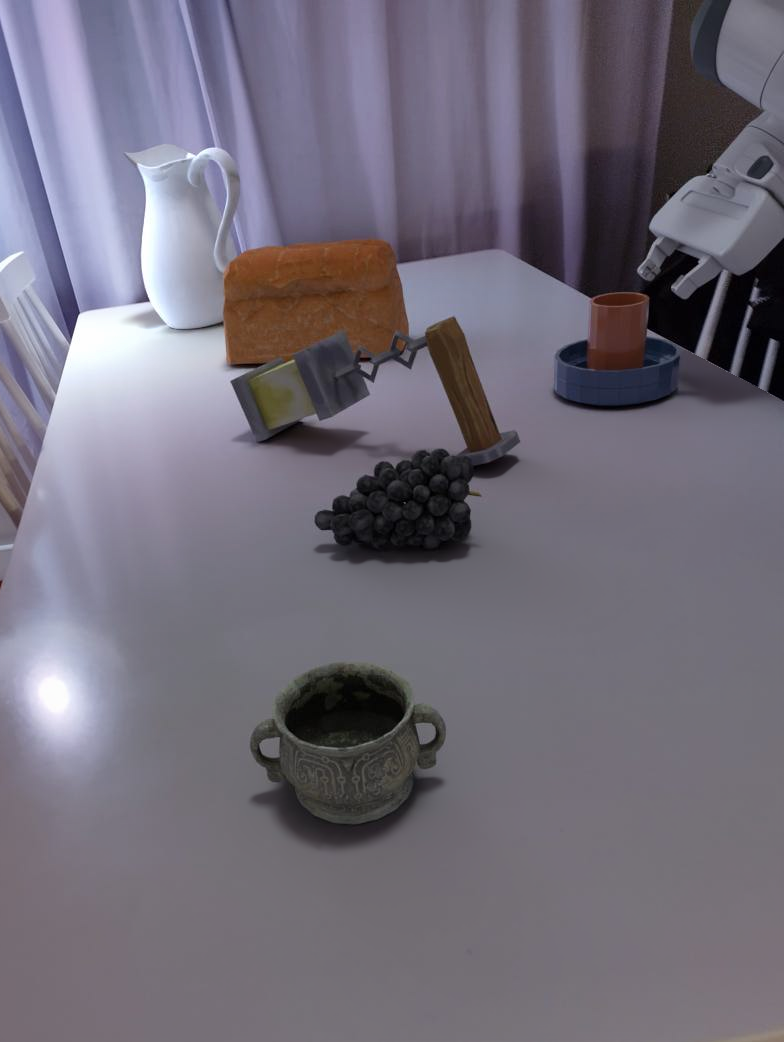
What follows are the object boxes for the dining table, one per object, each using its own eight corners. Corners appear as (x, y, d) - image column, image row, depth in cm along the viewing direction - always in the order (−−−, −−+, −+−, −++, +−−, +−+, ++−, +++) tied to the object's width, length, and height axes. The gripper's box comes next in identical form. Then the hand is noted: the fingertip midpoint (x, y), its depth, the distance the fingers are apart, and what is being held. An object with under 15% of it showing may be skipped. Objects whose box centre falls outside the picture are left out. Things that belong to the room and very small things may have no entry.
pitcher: (133, 328, 169) (97, 155, 154) (207, 304, 177) (180, 139, 163) (214, 344, 153) (182, 153, 138) (291, 317, 162) (269, 135, 147)
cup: (635, 374, 115) (641, 289, 109) (648, 391, 109) (655, 302, 104) (581, 380, 115) (584, 295, 110) (592, 396, 110) (596, 309, 105)
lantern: (287, 513, 115) (493, 462, 94) (230, 380, 110) (433, 295, 89) (324, 488, 120) (528, 435, 98) (271, 361, 115) (473, 275, 93)
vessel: (439, 729, 62) (435, 651, 59) (458, 822, 55) (454, 738, 52) (260, 747, 63) (246, 670, 60) (255, 841, 56) (238, 759, 52)
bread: (246, 343, 151) (231, 243, 143) (412, 333, 144) (406, 227, 136) (221, 370, 140) (203, 263, 132) (400, 360, 133) (393, 247, 125)
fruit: (301, 463, 80) (479, 446, 78) (314, 457, 88) (476, 442, 86) (311, 563, 82) (485, 549, 80) (323, 548, 90) (482, 536, 88)
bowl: (659, 366, 118) (662, 330, 116) (692, 403, 106) (696, 363, 104) (545, 378, 119) (546, 342, 117) (565, 415, 108) (566, 376, 105)
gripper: (693, 149, 110) (607, 251, 115) (786, 169, 92) (680, 287, 98) (726, 185, 112) (640, 283, 117) (823, 211, 95) (717, 324, 100)
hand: (659, 285), depth 107 cm, fingers open, 8 cm apart
